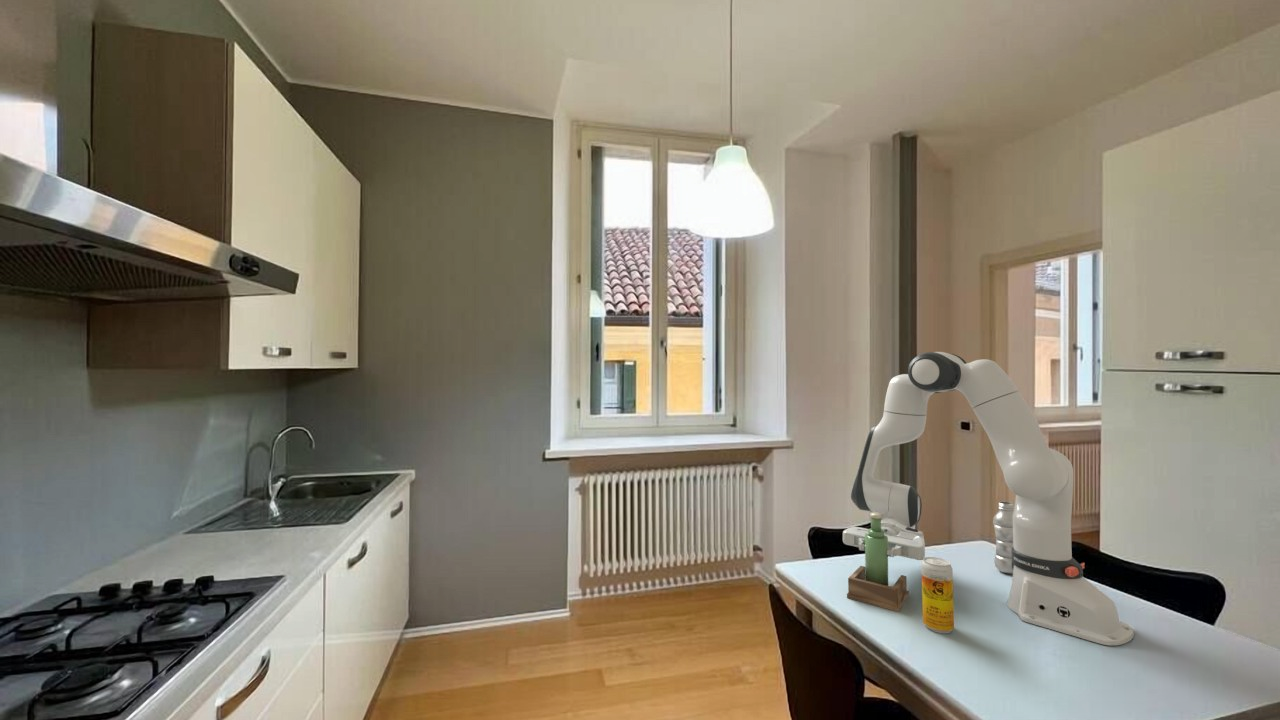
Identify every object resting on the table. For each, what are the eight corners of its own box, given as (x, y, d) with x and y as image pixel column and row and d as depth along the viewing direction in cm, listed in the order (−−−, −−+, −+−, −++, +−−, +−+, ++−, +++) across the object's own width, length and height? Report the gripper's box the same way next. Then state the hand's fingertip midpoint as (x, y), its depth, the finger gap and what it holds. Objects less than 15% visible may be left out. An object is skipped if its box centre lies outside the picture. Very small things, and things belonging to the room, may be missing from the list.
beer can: (925, 631, 111) (924, 564, 112) (920, 619, 117) (919, 555, 118) (957, 636, 109) (955, 567, 110) (950, 623, 115) (948, 558, 116)
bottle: (892, 583, 129) (891, 515, 129) (879, 588, 126) (879, 518, 126) (873, 576, 134) (873, 509, 134) (861, 580, 131) (860, 512, 131)
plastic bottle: (1028, 577, 141) (1026, 506, 141) (1004, 577, 141) (1002, 506, 141) (1012, 568, 147) (1010, 500, 148) (989, 568, 147) (987, 500, 148)
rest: (860, 582, 138) (860, 564, 138) (908, 594, 130) (908, 575, 130) (847, 597, 129) (846, 578, 129) (897, 611, 121) (897, 590, 121)
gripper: (850, 518, 147) (834, 530, 136) (929, 532, 134) (918, 547, 123) (850, 540, 147) (835, 553, 136) (930, 556, 133) (919, 572, 123)
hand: (875, 550), depth 129 cm, fingers closed on bottle, 5 cm apart
